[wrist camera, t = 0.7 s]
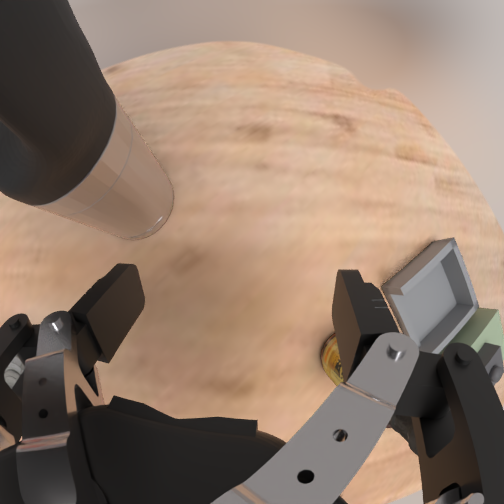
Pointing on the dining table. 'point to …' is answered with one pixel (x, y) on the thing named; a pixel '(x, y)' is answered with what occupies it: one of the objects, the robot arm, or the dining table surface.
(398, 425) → the sauce bottle
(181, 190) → the dining table surface
